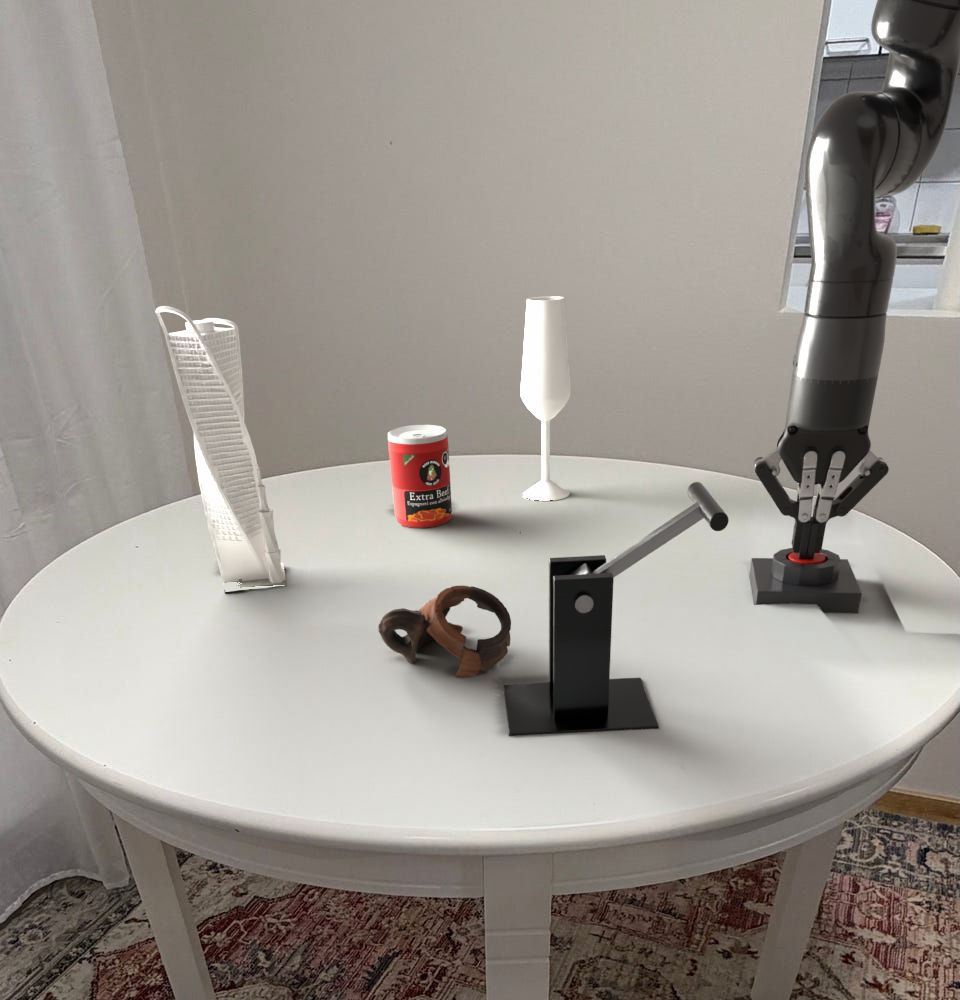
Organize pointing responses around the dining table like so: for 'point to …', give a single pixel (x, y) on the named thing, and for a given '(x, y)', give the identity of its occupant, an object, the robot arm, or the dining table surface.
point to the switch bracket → (578, 663)
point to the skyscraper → (225, 450)
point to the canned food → (420, 475)
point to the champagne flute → (545, 379)
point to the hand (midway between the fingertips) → (805, 556)
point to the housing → (805, 582)
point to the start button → (817, 559)
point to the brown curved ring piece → (448, 630)
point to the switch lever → (666, 532)
